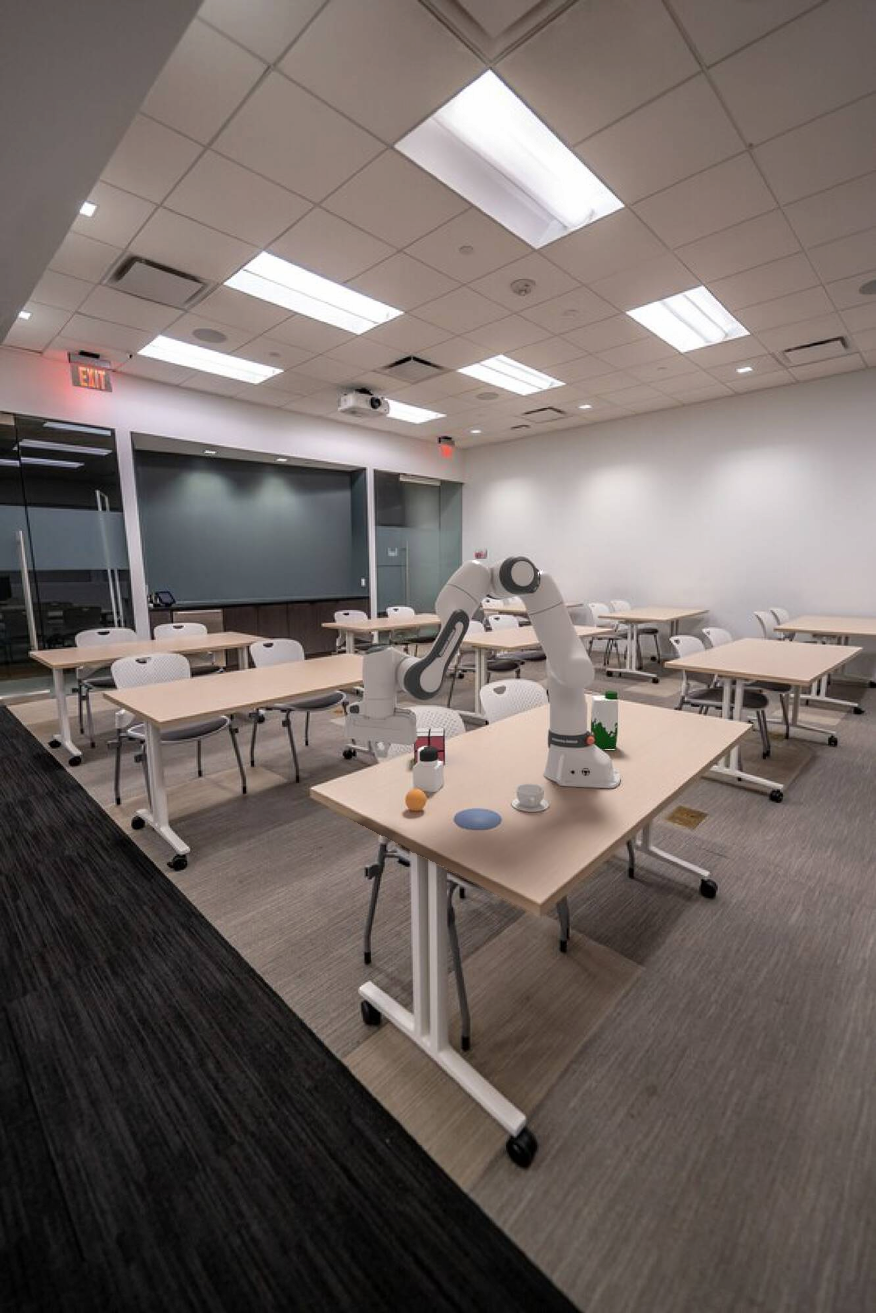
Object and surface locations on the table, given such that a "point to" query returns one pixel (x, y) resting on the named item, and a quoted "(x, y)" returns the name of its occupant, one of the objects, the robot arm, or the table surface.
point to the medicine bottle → (428, 770)
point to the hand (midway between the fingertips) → (381, 757)
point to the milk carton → (605, 720)
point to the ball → (415, 800)
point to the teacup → (530, 798)
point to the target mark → (477, 819)
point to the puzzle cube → (430, 741)
